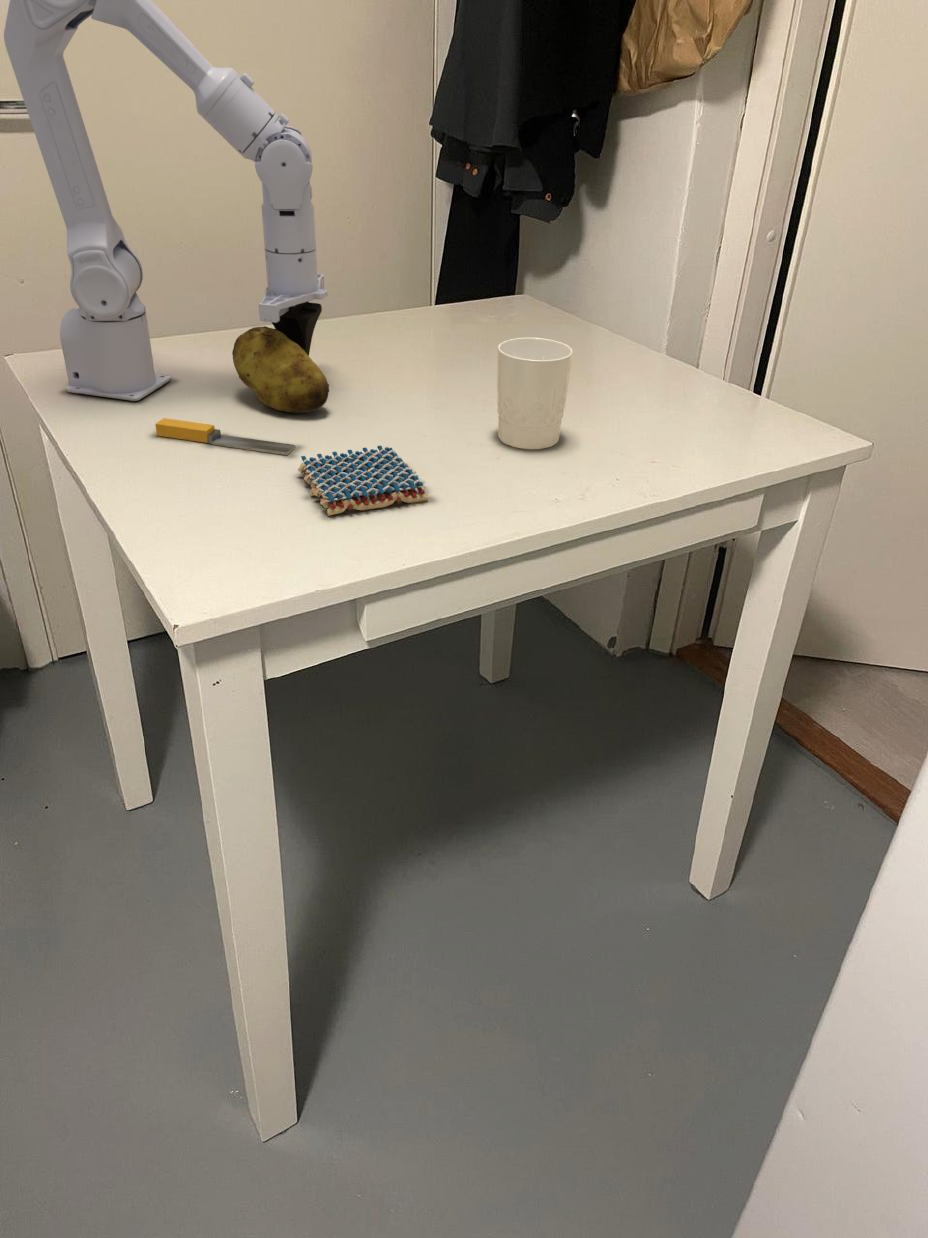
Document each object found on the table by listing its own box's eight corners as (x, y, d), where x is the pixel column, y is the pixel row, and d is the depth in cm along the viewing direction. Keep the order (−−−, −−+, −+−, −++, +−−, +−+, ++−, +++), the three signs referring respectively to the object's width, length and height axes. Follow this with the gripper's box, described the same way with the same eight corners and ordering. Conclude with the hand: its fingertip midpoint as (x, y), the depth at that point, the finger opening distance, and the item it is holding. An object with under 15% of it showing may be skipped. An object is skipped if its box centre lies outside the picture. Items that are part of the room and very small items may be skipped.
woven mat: (326, 520, 88) (325, 500, 87) (295, 473, 96) (294, 455, 95) (431, 503, 92) (432, 483, 91) (393, 460, 100) (393, 441, 99)
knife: (155, 436, 103) (153, 424, 102) (166, 429, 105) (164, 416, 104) (287, 455, 100) (286, 442, 99) (295, 447, 102) (294, 435, 101)
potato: (268, 428, 106) (260, 357, 101) (229, 391, 115) (220, 324, 111) (337, 414, 109) (332, 344, 105) (294, 380, 119) (288, 314, 114)
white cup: (571, 431, 108) (580, 343, 103) (553, 457, 102) (562, 364, 97) (504, 420, 110) (510, 333, 105) (483, 445, 104) (488, 354, 99)
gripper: (298, 266, 102) (305, 389, 109) (346, 238, 114) (349, 351, 121) (237, 259, 103) (248, 382, 111) (290, 233, 115) (297, 345, 122)
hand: (297, 366), depth 116 cm, fingers closed
